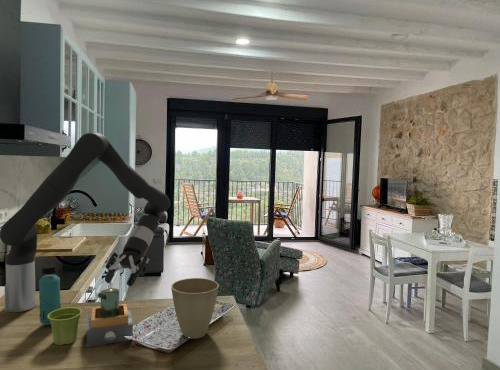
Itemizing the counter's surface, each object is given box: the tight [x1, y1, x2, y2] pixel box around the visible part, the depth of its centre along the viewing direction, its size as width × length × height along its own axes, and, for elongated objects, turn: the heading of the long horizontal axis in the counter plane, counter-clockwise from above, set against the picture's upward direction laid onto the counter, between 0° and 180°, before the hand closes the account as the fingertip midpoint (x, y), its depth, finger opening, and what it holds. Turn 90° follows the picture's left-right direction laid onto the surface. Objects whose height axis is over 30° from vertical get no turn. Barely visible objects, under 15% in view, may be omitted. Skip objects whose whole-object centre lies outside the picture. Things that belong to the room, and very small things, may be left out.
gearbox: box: [86, 303, 134, 348], centre depth 121 cm, size 13×14×8 cm
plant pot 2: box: [170, 277, 220, 340], centre depth 123 cm, size 15×15×16 cm
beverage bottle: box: [38, 264, 62, 325], centre depth 128 cm, size 6×7×20 cm
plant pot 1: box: [48, 306, 83, 346], centre depth 117 cm, size 9×9×9 cm
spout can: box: [97, 287, 120, 318], centre depth 120 cm, size 8×6×10 cm
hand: (117, 283), depth 124 cm, fingers open, 8 cm apart
